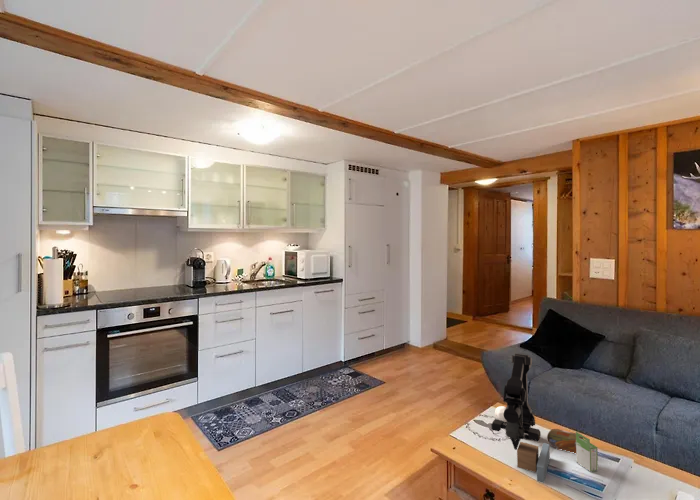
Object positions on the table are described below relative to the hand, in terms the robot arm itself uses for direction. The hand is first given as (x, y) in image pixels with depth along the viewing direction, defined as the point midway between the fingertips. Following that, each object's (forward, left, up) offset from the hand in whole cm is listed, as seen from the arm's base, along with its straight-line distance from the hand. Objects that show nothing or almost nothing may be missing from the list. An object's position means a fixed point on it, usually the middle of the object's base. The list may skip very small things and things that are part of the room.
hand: (515, 449), depth 156 cm
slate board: (0, +11, -5) cm, 12 cm away
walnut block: (0, +5, -5) cm, 7 cm away
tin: (-21, +17, -5) cm, 28 cm away
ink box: (-11, +25, -5) cm, 28 cm away
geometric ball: (-35, -13, -5) cm, 38 cm away
